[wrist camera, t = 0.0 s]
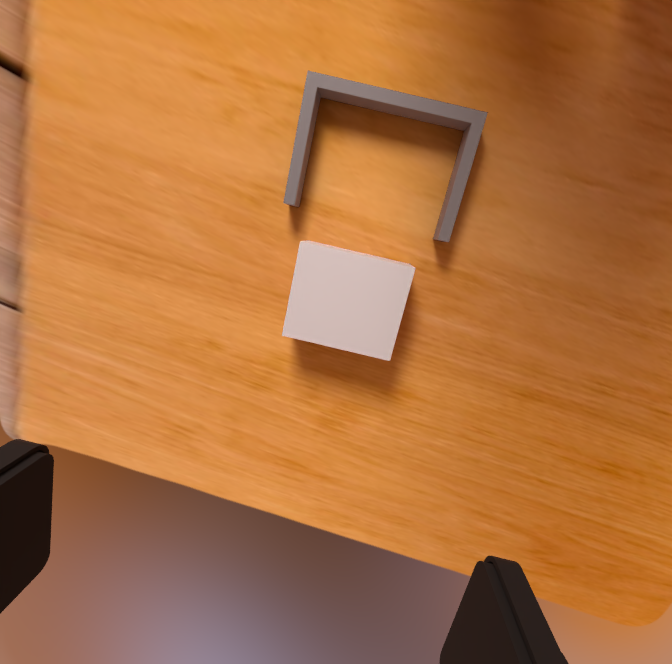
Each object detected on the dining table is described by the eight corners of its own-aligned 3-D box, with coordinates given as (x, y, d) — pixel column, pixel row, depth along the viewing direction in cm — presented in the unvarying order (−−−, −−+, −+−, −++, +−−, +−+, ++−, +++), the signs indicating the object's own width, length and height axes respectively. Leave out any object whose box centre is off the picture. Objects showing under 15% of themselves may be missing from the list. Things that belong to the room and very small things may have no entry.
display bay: (311, 82, 34) (307, 70, 31) (478, 121, 34) (487, 112, 31) (288, 204, 36) (283, 202, 34) (443, 241, 36) (448, 242, 34)
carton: (308, 240, 37) (300, 241, 33) (409, 263, 37) (415, 268, 32) (292, 323, 40) (281, 335, 35) (386, 345, 39) (389, 361, 35)
